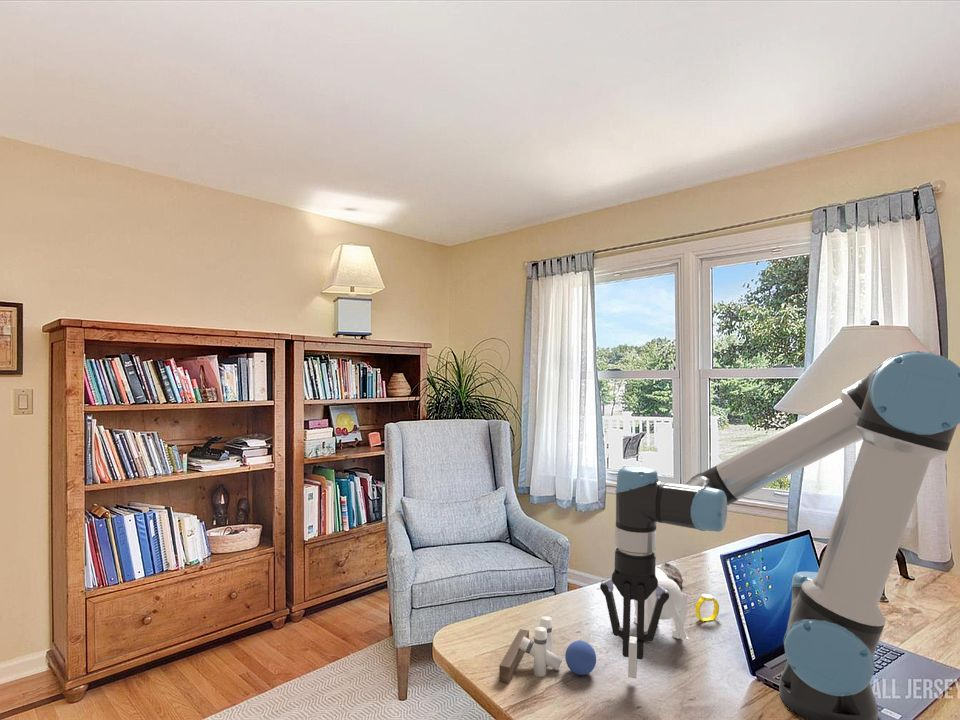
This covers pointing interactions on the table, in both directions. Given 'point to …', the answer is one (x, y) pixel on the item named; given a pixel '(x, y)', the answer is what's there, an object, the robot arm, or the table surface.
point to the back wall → (512, 658)
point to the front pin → (551, 658)
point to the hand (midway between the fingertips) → (632, 674)
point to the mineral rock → (672, 573)
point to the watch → (697, 608)
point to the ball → (580, 657)
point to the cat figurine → (667, 605)
